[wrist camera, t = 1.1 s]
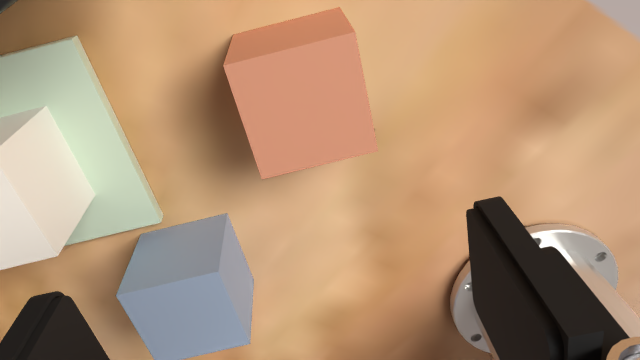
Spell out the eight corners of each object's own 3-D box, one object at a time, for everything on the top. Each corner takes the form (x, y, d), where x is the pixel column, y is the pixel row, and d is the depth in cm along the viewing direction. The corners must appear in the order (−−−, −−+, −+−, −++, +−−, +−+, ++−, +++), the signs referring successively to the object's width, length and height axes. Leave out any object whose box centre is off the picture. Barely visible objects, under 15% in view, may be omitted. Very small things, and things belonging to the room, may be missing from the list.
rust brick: (359, 107, 29) (378, 151, 24) (264, 131, 30) (261, 179, 25) (339, 6, 27) (355, 31, 21) (233, 34, 27) (223, 65, 22)
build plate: (163, 215, 32) (161, 222, 31) (-9, 257, 32) (-15, 265, 32) (77, 35, 26) (71, 38, 25) (-132, 90, 27) (-143, 95, 26)
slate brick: (253, 279, 35) (250, 343, 30) (174, 297, 36) (157, 365, 30) (227, 212, 32) (218, 271, 27) (141, 233, 33) (115, 295, 27)
